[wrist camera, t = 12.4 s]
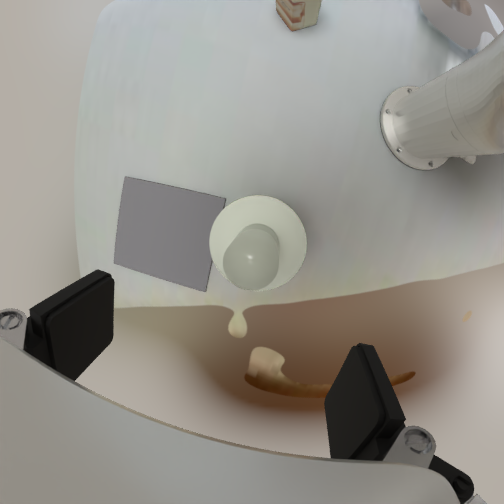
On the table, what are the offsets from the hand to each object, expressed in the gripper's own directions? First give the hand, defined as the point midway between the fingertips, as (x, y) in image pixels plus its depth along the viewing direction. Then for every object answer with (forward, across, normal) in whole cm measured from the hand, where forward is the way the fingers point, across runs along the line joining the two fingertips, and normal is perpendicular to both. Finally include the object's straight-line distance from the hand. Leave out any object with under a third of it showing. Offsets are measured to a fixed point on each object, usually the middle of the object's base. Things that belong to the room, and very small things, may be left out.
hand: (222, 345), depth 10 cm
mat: (+30, +14, +5) cm, 33 cm away
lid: (+18, 0, 0) cm, 18 cm away
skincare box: (+30, +3, -32) cm, 44 cm away
